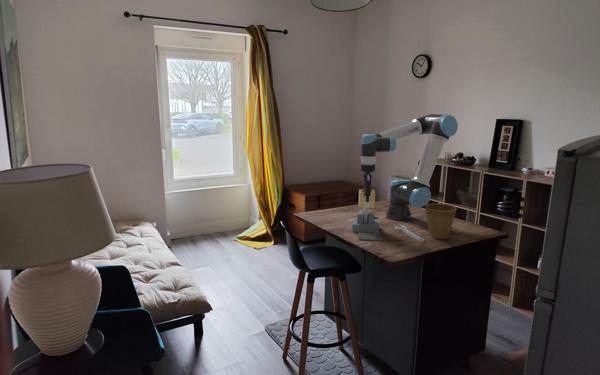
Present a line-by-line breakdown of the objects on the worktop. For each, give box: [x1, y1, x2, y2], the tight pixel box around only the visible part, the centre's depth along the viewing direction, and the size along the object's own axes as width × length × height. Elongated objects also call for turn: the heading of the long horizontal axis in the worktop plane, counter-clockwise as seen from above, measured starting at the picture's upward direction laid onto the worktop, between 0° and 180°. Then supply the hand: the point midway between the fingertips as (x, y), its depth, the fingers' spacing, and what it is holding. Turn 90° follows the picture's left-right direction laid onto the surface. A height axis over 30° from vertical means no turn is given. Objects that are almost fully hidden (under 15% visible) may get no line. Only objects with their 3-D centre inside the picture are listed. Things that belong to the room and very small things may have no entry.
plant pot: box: [425, 203, 458, 240], centre depth 198 cm, size 15×15×16 cm
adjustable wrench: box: [394, 224, 425, 243], centre depth 203 cm, size 25×6×2 cm, turn 11°
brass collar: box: [358, 188, 376, 209], centre depth 208 cm, size 8×8×8 cm
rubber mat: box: [357, 232, 385, 242], centre depth 198 cm, size 12×11×1 cm
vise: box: [351, 207, 380, 233], centre depth 209 cm, size 14×11×17 cm
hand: (366, 205), depth 208 cm, fingers closed on brass collar, 8 cm apart
